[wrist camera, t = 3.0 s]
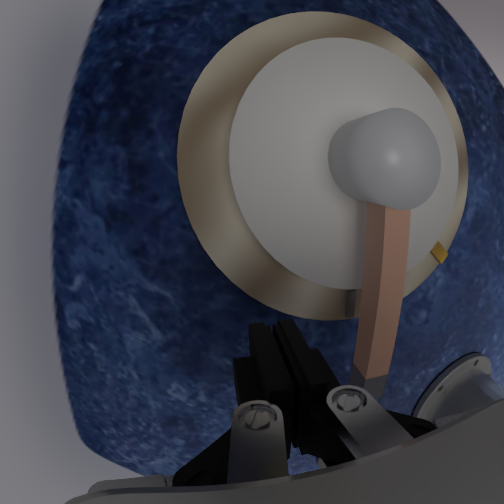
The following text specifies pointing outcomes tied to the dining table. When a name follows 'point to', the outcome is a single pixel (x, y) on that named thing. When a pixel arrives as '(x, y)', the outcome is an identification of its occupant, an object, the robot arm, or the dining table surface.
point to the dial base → (218, 177)
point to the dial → (346, 177)
